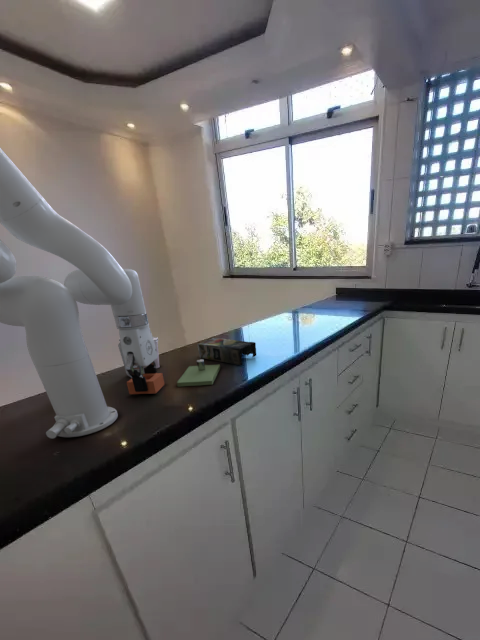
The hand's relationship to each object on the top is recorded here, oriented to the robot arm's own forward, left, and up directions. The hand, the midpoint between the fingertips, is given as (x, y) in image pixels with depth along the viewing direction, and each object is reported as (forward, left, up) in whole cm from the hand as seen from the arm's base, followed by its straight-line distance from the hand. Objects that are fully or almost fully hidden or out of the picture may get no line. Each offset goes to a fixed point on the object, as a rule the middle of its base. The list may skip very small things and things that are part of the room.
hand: (147, 385), depth 86 cm
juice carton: (+26, -18, -2) cm, 32 cm away
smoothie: (+20, +6, -2) cm, 21 cm away
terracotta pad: (0, 0, -1) cm, 1 cm away
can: (+14, +8, -2) cm, 16 cm away
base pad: (+9, -12, -2) cm, 15 cm away
